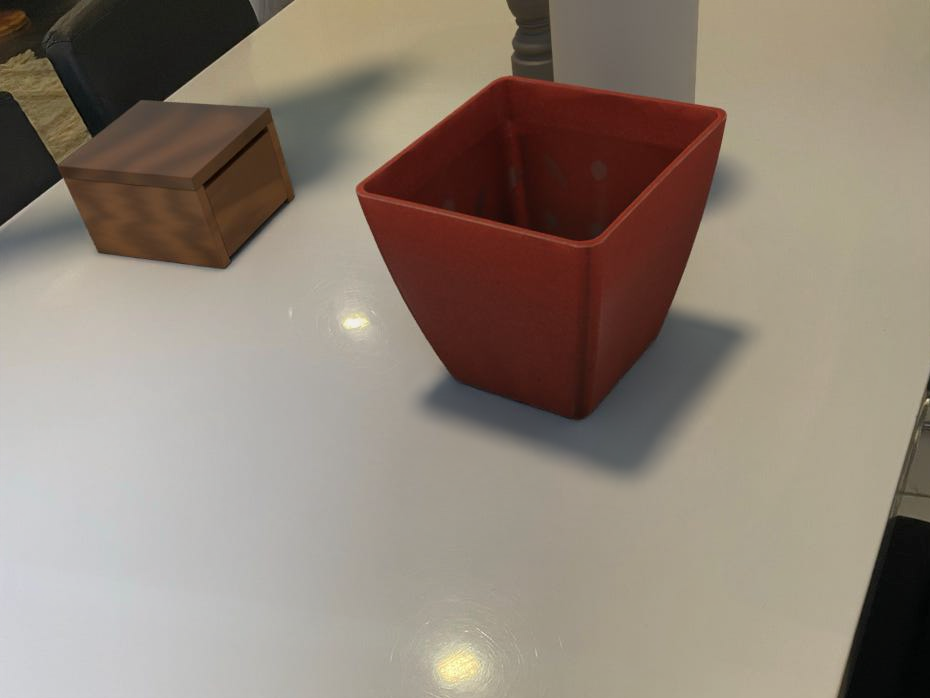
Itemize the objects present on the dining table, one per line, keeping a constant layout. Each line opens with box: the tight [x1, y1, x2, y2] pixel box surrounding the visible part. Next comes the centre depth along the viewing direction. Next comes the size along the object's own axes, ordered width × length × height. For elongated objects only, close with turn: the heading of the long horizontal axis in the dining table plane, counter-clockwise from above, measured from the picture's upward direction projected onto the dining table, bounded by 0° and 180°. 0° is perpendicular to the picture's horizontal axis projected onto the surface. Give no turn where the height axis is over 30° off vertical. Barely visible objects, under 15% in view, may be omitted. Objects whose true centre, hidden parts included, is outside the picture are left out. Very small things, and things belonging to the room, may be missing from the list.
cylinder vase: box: [549, 0, 700, 104], centre depth 84 cm, size 12×12×25 cm
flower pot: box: [355, 75, 728, 420], centre depth 72 cm, size 19×19×17 cm
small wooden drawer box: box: [56, 99, 296, 269], centre depth 97 cm, size 16×14×9 cm
